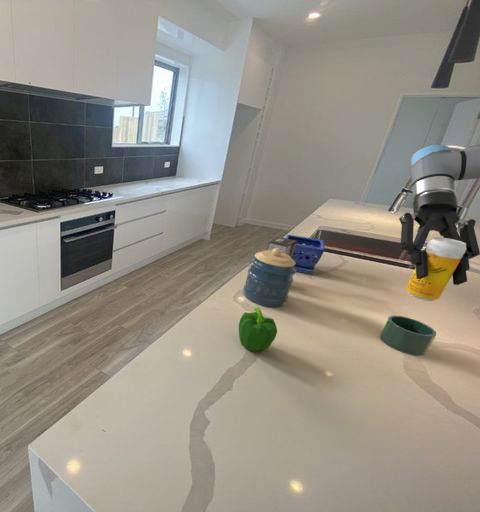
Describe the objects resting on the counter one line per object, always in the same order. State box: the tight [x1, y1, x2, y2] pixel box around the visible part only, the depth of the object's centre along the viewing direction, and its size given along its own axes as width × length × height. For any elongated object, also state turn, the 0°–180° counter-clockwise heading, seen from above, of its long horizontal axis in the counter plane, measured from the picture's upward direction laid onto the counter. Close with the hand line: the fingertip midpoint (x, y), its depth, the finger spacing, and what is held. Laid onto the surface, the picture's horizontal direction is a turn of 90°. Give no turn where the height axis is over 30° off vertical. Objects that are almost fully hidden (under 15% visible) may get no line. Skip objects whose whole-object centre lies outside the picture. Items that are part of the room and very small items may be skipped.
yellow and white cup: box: [405, 236, 466, 302], centre depth 73 cm, size 6×6×15 cm
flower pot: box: [285, 234, 326, 274], centre depth 121 cm, size 13×13×12 cm
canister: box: [242, 248, 297, 308], centre depth 96 cm, size 13×13×18 cm
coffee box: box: [266, 236, 297, 258], centre depth 108 cm, size 9×6×16 cm
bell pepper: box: [238, 306, 278, 352], centre depth 74 cm, size 8×8×10 cm
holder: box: [379, 315, 437, 356], centre depth 78 cm, size 9×9×6 cm
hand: (440, 279), depth 70 cm, fingers closed on yellow and white cup, 6 cm apart
